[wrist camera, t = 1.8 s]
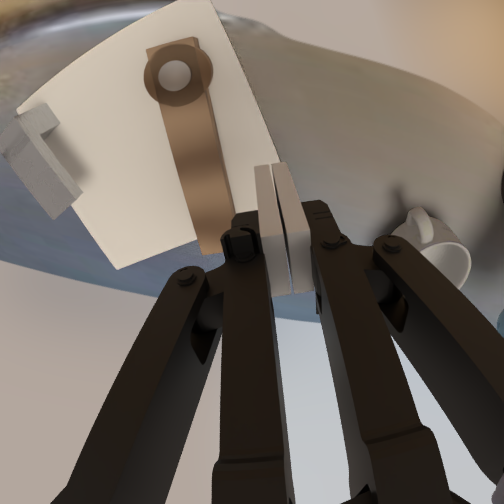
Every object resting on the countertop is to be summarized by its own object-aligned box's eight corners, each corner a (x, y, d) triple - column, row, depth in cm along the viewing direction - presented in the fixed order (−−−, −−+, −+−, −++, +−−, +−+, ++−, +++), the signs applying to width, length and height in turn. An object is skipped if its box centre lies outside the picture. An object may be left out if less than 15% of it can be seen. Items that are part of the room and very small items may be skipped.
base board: (206, -9, 21) (204, -12, 20) (294, 197, 35) (296, 203, 33) (23, 106, 26) (16, 109, 25) (120, 262, 39) (116, 269, 38)
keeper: (53, 100, 26) (14, 116, 20) (104, 169, 32) (76, 199, 26) (33, 122, 27) (-6, 143, 21) (82, 188, 33) (53, 220, 27)
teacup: (439, 262, 41) (464, 299, 34) (374, 281, 42) (392, 323, 36) (444, 176, 33) (480, 207, 26) (367, 193, 35) (394, 230, 28)
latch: (146, 51, 23) (133, 52, 20) (206, 36, 23) (201, 33, 20) (198, 240, 35) (194, 261, 32) (247, 232, 35) (248, 252, 32)
